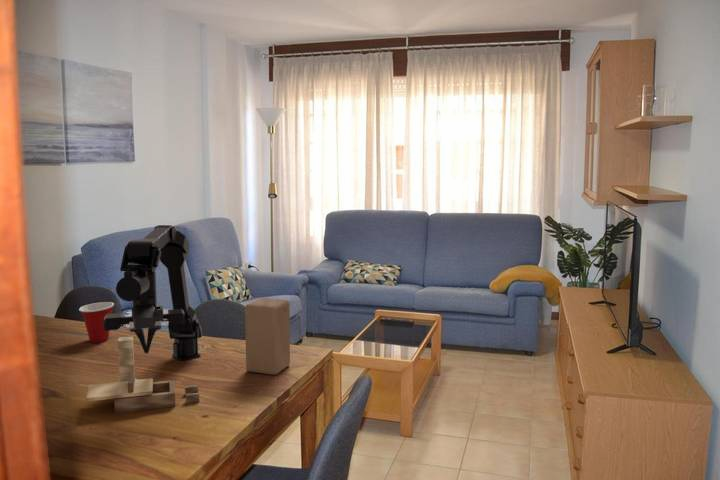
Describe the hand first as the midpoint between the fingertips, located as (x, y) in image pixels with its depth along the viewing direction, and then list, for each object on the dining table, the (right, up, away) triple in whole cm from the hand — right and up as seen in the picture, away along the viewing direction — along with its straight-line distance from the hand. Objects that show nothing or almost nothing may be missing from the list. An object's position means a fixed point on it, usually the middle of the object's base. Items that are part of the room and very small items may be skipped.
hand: (146, 352), depth 152 cm
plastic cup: (-34, -6, +52) cm, 63 cm away
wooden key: (-9, -11, +12) cm, 19 cm away
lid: (-6, -9, -1) cm, 11 cm away
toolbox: (+2, -13, +3) cm, 13 cm away
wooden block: (+26, -10, +27) cm, 39 cm away
